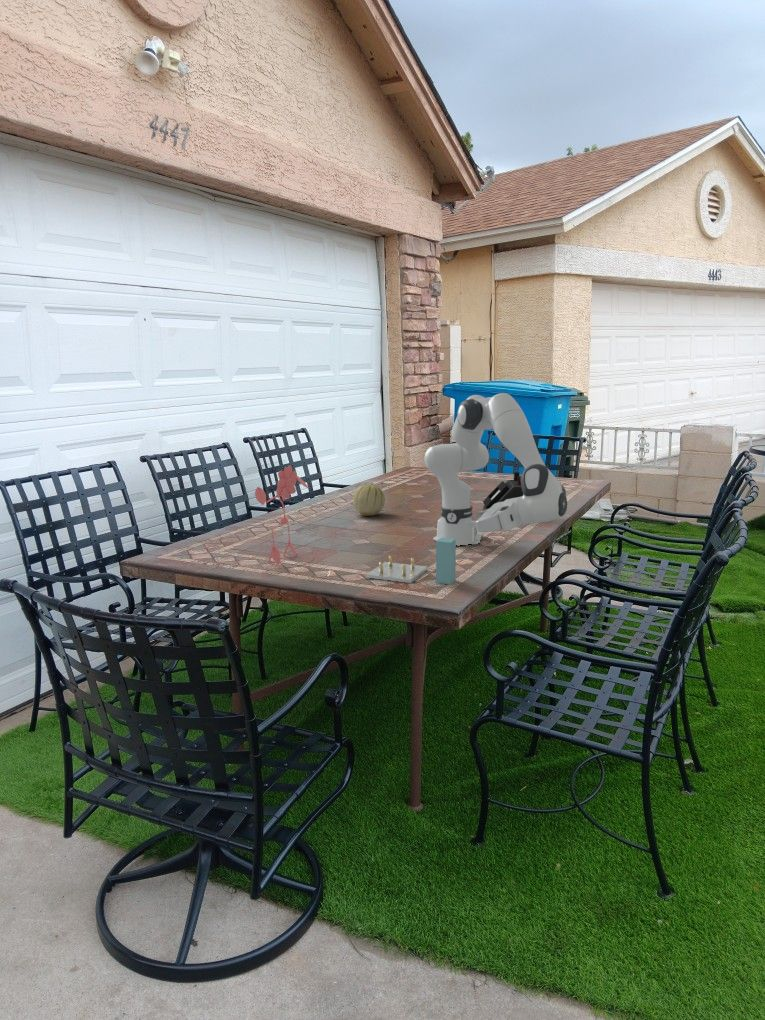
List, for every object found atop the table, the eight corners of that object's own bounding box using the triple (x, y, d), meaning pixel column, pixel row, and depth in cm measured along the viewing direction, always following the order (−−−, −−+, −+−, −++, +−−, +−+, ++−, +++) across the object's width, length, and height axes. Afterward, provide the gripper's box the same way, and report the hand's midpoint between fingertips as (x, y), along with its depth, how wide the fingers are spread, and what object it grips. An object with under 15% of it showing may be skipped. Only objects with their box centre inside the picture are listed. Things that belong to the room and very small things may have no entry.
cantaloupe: (350, 518, 331) (349, 486, 328) (356, 511, 345) (355, 480, 342) (382, 519, 329) (382, 486, 325) (387, 512, 343) (387, 480, 340)
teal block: (441, 578, 243) (441, 537, 240) (455, 579, 241) (455, 538, 238) (436, 582, 238) (436, 541, 235) (450, 584, 236) (450, 542, 233)
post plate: (384, 565, 258) (384, 552, 257) (427, 569, 252) (427, 556, 251) (366, 578, 244) (365, 564, 243) (410, 583, 238) (410, 569, 237)
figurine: (251, 567, 258) (248, 469, 250) (294, 550, 280) (292, 459, 272) (286, 574, 251) (284, 473, 243) (328, 555, 273) (327, 463, 265)
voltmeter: (482, 514, 335) (482, 471, 330) (518, 514, 334) (519, 471, 330) (485, 523, 319) (486, 477, 315) (523, 522, 318) (524, 477, 314)
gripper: (520, 493, 232) (480, 500, 239) (501, 512, 215) (458, 520, 222) (525, 511, 233) (486, 518, 240) (506, 532, 216) (464, 539, 223)
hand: (472, 519), depth 231 cm, fingers open, 8 cm apart
